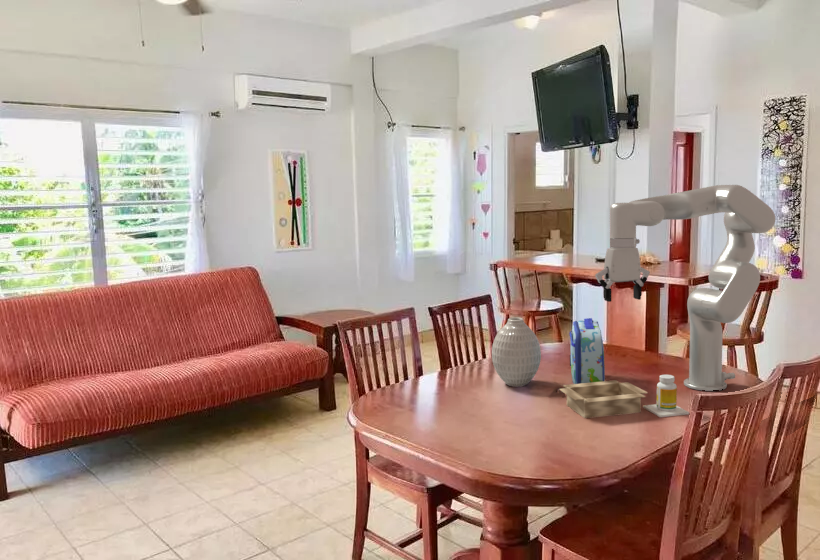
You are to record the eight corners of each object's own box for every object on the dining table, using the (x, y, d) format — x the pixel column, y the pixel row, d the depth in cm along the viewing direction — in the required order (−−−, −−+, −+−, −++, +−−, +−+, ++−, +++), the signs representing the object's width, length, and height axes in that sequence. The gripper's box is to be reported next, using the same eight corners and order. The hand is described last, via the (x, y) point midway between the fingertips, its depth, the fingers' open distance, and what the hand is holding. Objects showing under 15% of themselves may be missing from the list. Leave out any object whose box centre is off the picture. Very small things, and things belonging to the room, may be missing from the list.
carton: (622, 396, 208) (623, 379, 207) (653, 414, 191) (653, 395, 190) (555, 403, 204) (555, 385, 203) (580, 422, 187) (580, 402, 186)
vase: (486, 388, 222) (485, 322, 219) (499, 375, 236) (497, 313, 233) (535, 392, 215) (534, 324, 213) (545, 378, 230) (544, 315, 227)
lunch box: (569, 372, 237) (568, 314, 234) (600, 373, 235) (600, 314, 232) (571, 395, 212) (571, 330, 209) (607, 396, 209) (607, 330, 207)
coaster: (670, 404, 199) (671, 402, 199) (689, 414, 190) (689, 412, 190) (643, 407, 197) (643, 405, 197) (660, 417, 188) (660, 415, 188)
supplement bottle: (652, 407, 195) (652, 375, 194) (667, 404, 197) (667, 372, 196) (665, 412, 190) (665, 379, 189) (680, 410, 192) (681, 377, 191)
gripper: (642, 241, 207) (642, 296, 210) (590, 244, 204) (590, 300, 206) (655, 243, 200) (655, 300, 202) (601, 246, 197) (601, 303, 199)
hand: (622, 300), depth 204 cm, fingers open, 9 cm apart
